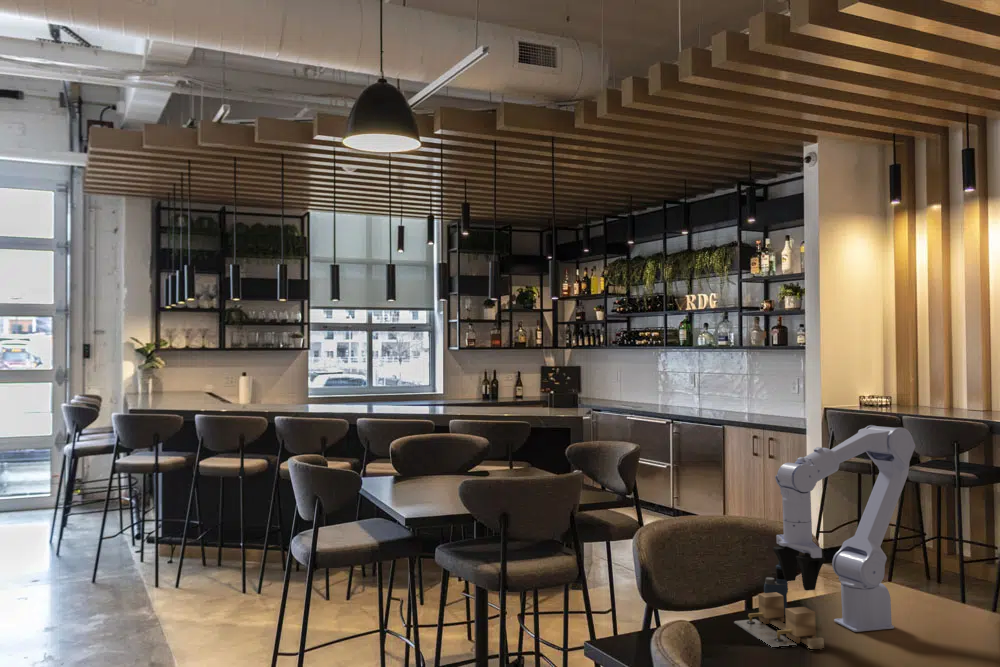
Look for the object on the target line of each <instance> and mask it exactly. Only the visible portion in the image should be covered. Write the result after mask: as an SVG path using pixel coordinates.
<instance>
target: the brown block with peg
mask: <svg viewBox="0 0 1000 667" xmlns="http://www.w3.org/2000/svg"><path fill="white" fill-rule="evenodd" d="M784 617H785V624H786V630H778V629H777V630H776V632H777V638H778V639H780V634H781V635H784V634H785V635H786V636H785V637H786V638H787V637H788V638H789V640H790V639H791V641H792V640H793V641H794V643H795V642H796V644H801V643H800V637H799V636H807V637H808V638H817V627H816V611H814V610H811V609H810V608H808V607H806V606H797V607H787V608H785V616H784ZM788 638H787V639H788ZM793 641H792V642H793Z"/></svg>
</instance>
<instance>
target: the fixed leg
mask: <svg viewBox="0 0 1000 667" xmlns="http://www.w3.org/2000/svg"><path fill="white" fill-rule="evenodd" d="M757 594H758V598H757V599H758V612H751V613H747V614H748V615H747V617H748V618H749V619H748V620H749V621H752V619H753V618H757V617H758V621H760V622H761V623H762V622H763V624H764V625H766V624H769V619H768V618H776V619H777V620H779V621H781V622H785V616H784V597H783V595H781V594H779V593H777V592H773V593H764V592H763V593H762V592H761V593H757ZM769 625H770V624H769Z"/></svg>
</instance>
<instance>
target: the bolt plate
mask: <svg viewBox="0 0 1000 667" xmlns="http://www.w3.org/2000/svg"><path fill="white" fill-rule="evenodd" d="M733 624H734V625H737V626H738V627H740V629H741V628H742V630H743V631H746V632H747V633H749V634H750V635H752V636H753V637H755V638H756V639H758V640H759V639H760V641H761V640H762V641H763V642H762V641H761V642H762V643H764V642H765V643H766V644H765V643H764V644H765V645H767V644H768V645H767V646H769V645H770V646H771V647H770V646H769V647H770V648H772V647H779V646H789V645H796V646H797V643H795V642H793V641H792V640H790V639H788V638H787V637H786V636H785V635H783V634H780V639H778V638H777V630H774V629H773V628H771V627H769V625H766V624H764V623H762V622H761V621H759V619H756V618H754V619H753V618H752V621H749V619H741V620H735V621H733Z"/></svg>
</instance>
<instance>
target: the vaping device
mask: <svg viewBox="0 0 1000 667" xmlns="http://www.w3.org/2000/svg"><path fill="white" fill-rule="evenodd" d="M775 572H776V573H775V575H776V580H775V578H774V577H772V576H771V577H770V576H767V577H765V581H764V585H763V593H773V592H777V593H779V594H781V595H783V597H784V615H785V608H788V597H787V596H788V592H789V591H788V590H789V586H788V585H789V584H788V583H789V582H788V581H785V579H784V575H783V572H782V568H781V565H780V562H779V561H778V564H776V565H775Z"/></svg>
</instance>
